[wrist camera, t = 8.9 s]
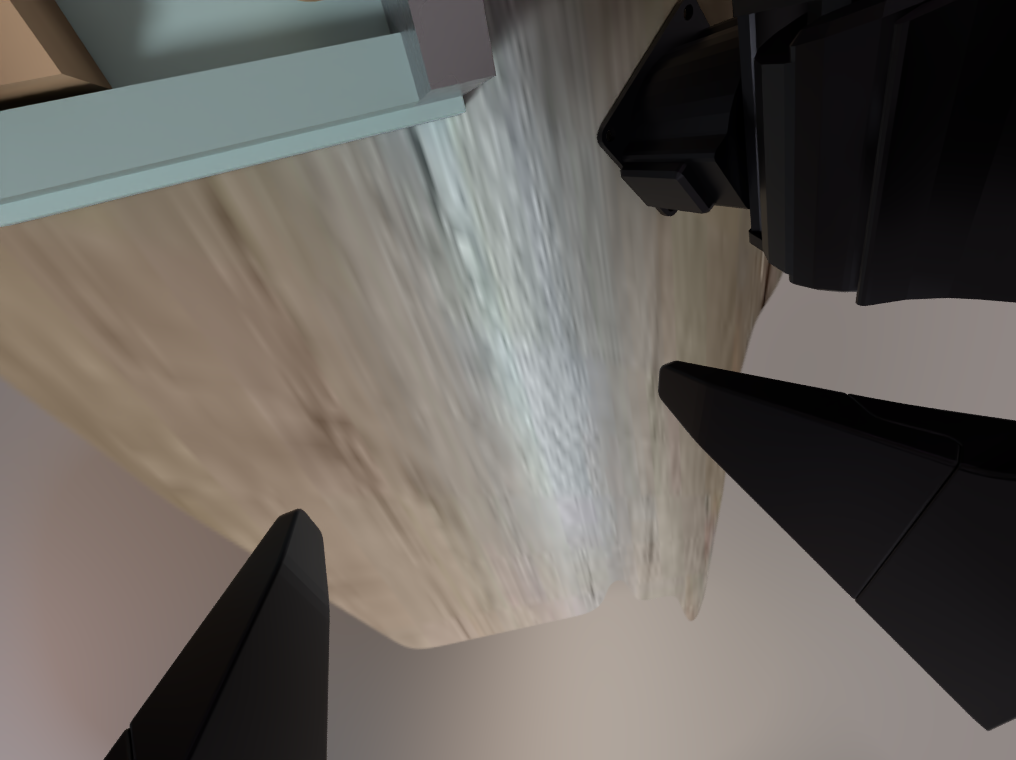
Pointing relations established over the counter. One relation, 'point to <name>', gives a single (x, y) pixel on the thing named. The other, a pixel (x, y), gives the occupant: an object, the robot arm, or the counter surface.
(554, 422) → the counter surface
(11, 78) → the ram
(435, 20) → the grey angular block
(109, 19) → the board
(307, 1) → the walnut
